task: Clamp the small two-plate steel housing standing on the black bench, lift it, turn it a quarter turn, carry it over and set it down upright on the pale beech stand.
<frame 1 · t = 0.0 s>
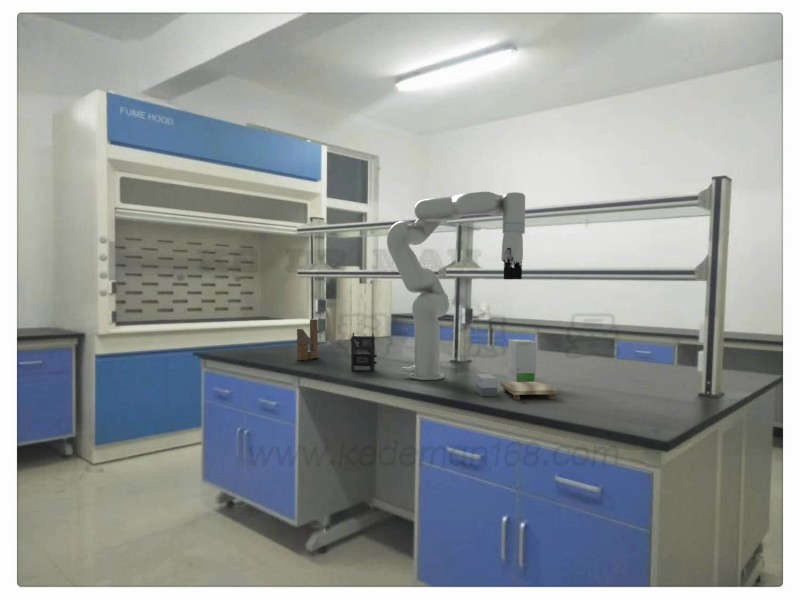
hand: (512, 279, 193), 37 cm above the countertop, tool pointing down, fingers open, 9 cm apart
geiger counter: (363, 370, 226), on the countertop
housing: (486, 394, 182), on the countertop
wooden block: (308, 359, 255), on the countertop
beech stand: (527, 395, 181), on the countertop
skincare box: (521, 384, 200), on the countertop
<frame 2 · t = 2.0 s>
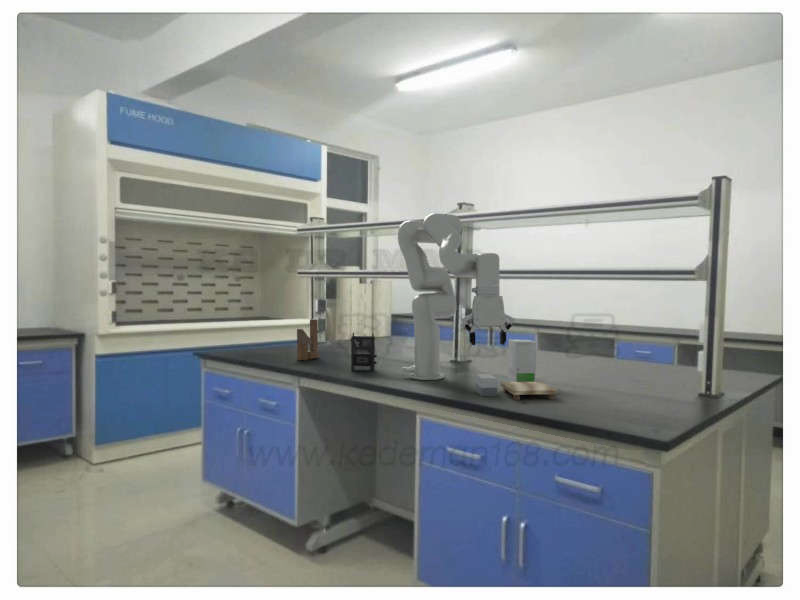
hand: (487, 344, 181), 16 cm above the countertop, tool pointing down, fingers open, 9 cm apart
nothing on the countertop moved.
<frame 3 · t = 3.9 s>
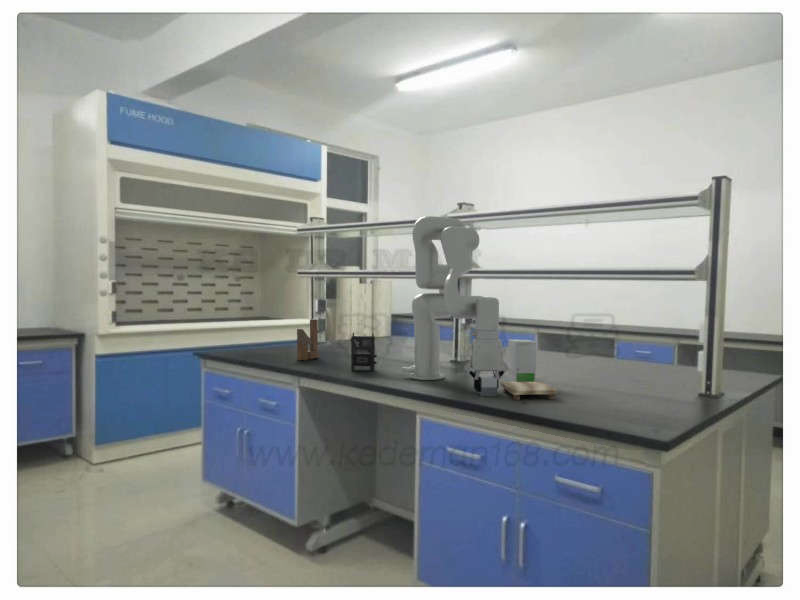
hand: (486, 390, 182), 1 cm above the countertop, tool pointing down, fingers closed on housing, 5 cm apart
housing: (486, 394, 182), on the countertop, touching gripper
everything else where it was.
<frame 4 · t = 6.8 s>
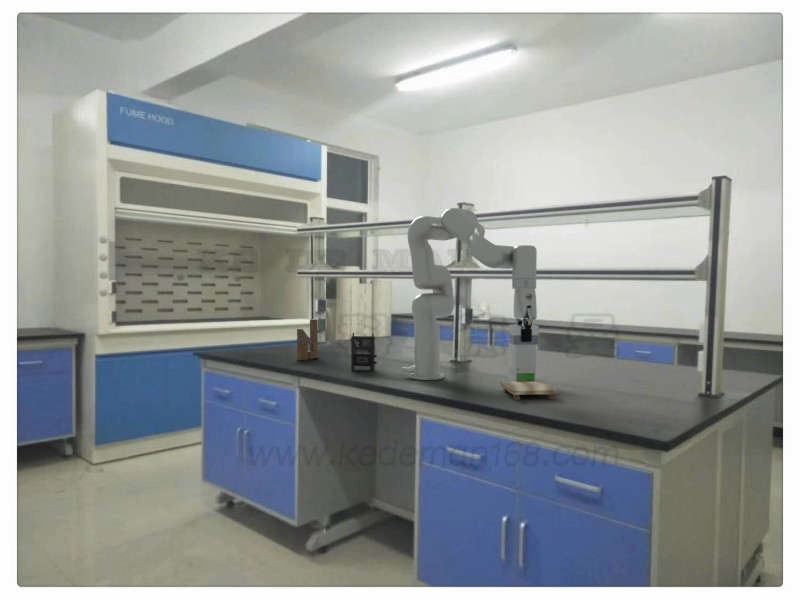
hand: (523, 340, 180), 18 cm above the countertop, tool pointing down, fingers closed on housing, 5 cm apart
housing: (523, 343, 180), point 17 cm above the countertop, touching gripper
everything else where it was.
when the fingers open (5 cm above the countertop, at t = 9.7 s): housing stays where it is, resting on beech stand.
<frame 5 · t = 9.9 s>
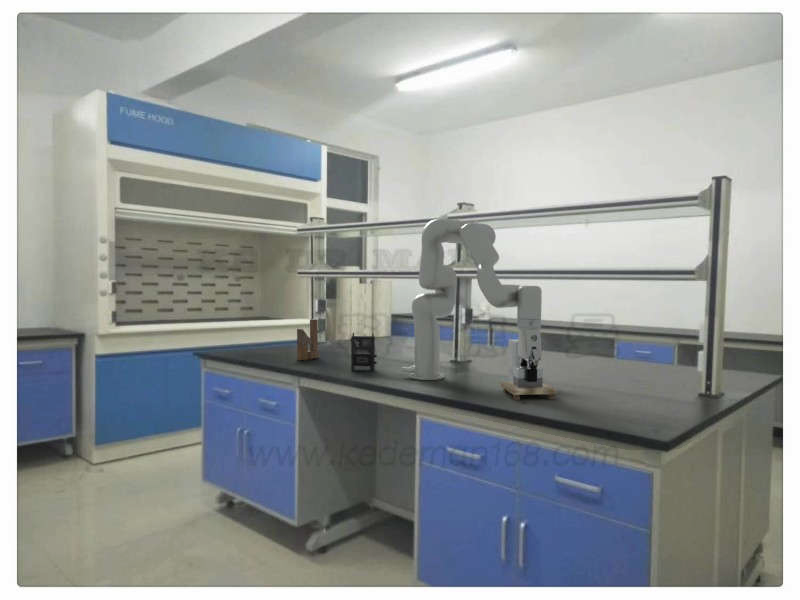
hand: (528, 379, 181), 5 cm above the countertop, tool pointing down, fingers open, 6 cm apart
housing: (527, 385, 181), point 3 cm above the countertop, touching beech stand
everything else where it was.
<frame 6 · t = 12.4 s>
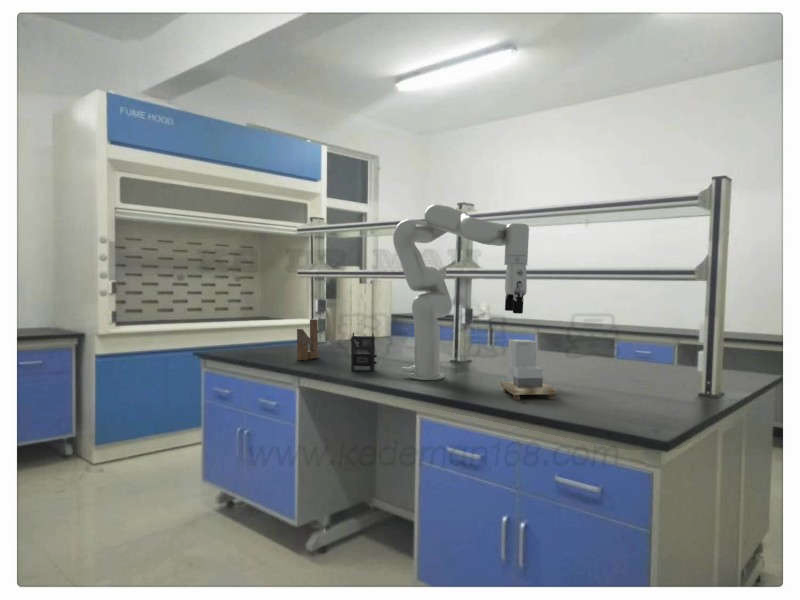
hand: (513, 312, 188), 26 cm above the countertop, tool pointing down, fingers open, 9 cm apart
nothing on the countertop moved.
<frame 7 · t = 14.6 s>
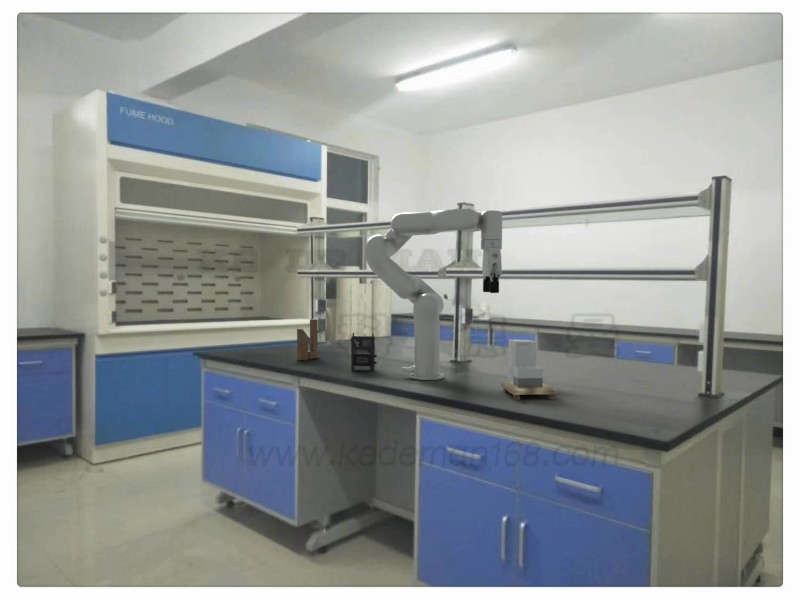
hand: (490, 292, 203), 32 cm above the countertop, tool pointing down, fingers open, 9 cm apart
nothing on the countertop moved.
at the end: housing inside the target area on the beech stand (0.1 cm from its centre), point 3.0 cm above the beech stand's base; housing tilted 0°; the gripper is holding nothing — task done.
